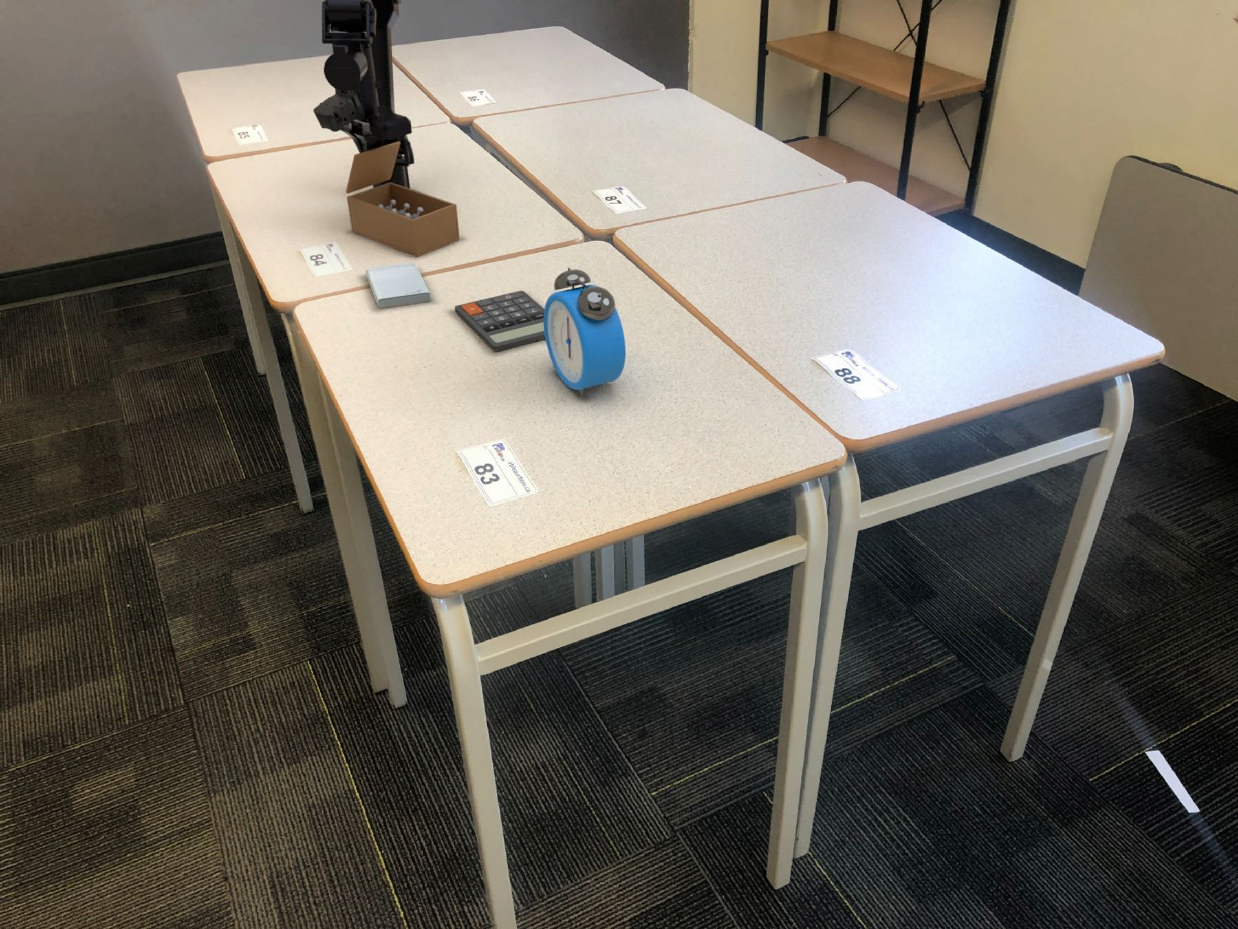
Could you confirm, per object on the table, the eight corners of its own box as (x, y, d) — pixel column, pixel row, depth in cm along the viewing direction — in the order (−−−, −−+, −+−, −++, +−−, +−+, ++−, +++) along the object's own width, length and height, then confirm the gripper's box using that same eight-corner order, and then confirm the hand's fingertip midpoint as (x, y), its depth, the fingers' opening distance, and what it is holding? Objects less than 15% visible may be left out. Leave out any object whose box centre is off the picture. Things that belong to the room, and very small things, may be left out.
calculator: (522, 289, 151) (566, 327, 140) (522, 294, 151) (566, 332, 141) (453, 305, 146) (494, 345, 135) (454, 310, 146) (494, 351, 136)
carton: (352, 231, 172) (346, 196, 168) (394, 216, 178) (390, 182, 175) (417, 256, 163) (412, 220, 159) (459, 239, 170) (456, 204, 166)
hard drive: (430, 291, 148) (415, 260, 158) (377, 299, 146) (364, 267, 155) (431, 301, 149) (416, 270, 159) (378, 309, 147) (366, 276, 156)
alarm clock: (543, 365, 133) (539, 265, 124) (583, 355, 136) (581, 256, 127) (586, 409, 124) (585, 304, 115) (627, 397, 126) (629, 294, 118)
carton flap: (347, 193, 168) (345, 192, 168) (390, 179, 174) (389, 177, 174) (355, 156, 161) (354, 154, 161) (400, 142, 168) (399, 141, 168)
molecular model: (441, 238, 168) (438, 211, 166) (422, 245, 166) (419, 218, 163) (392, 219, 176) (389, 193, 173) (374, 225, 173) (370, 199, 170)
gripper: (283, 75, 159) (300, 168, 168) (353, 94, 149) (368, 192, 158) (337, 63, 166) (351, 153, 175) (408, 81, 156) (419, 175, 165)
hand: (370, 168), depth 168 cm, fingers closed
